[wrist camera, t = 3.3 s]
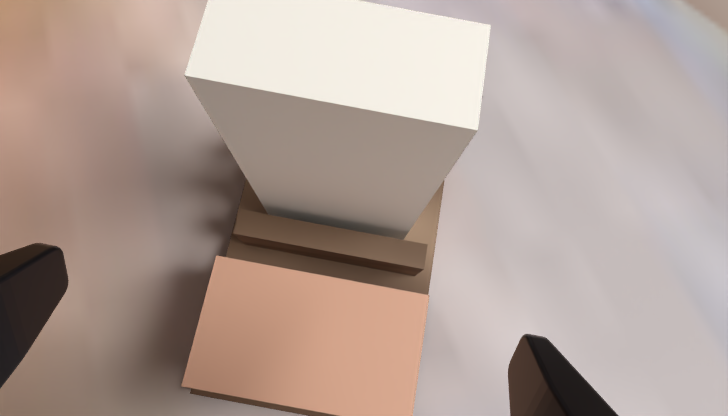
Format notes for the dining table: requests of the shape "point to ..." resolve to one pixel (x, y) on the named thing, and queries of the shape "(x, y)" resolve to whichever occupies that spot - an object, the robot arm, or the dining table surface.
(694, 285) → the dining table surface
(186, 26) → the dining table surface
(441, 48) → the tall white pillar
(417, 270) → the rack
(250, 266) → the offcut top
